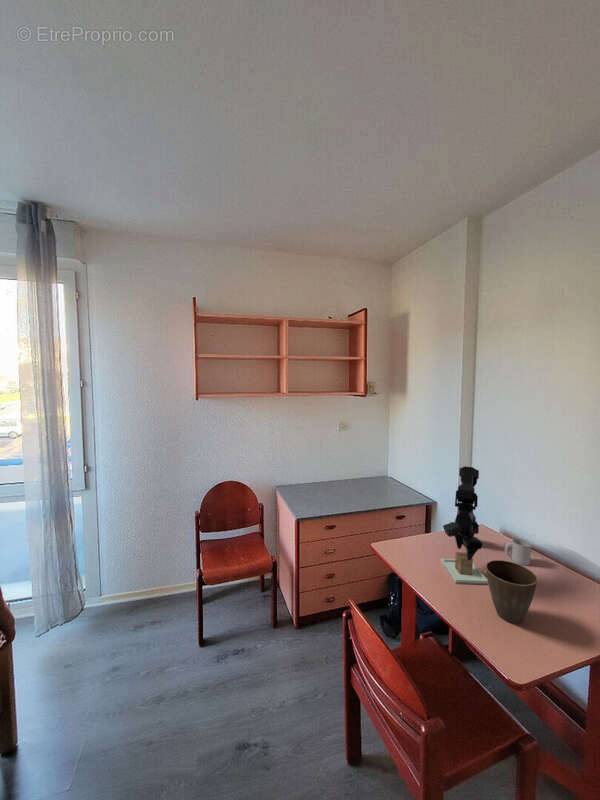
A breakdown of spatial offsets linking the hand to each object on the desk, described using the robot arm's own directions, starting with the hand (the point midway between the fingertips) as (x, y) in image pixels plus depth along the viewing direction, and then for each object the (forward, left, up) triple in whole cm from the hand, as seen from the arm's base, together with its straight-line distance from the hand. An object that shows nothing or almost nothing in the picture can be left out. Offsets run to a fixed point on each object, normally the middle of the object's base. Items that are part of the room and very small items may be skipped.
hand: (463, 554), depth 139 cm
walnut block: (0, 0, -8) cm, 8 cm away
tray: (0, 0, -8) cm, 8 cm away
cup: (-11, +29, -8) cm, 32 cm away
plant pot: (+26, +4, -8) cm, 27 cm away
